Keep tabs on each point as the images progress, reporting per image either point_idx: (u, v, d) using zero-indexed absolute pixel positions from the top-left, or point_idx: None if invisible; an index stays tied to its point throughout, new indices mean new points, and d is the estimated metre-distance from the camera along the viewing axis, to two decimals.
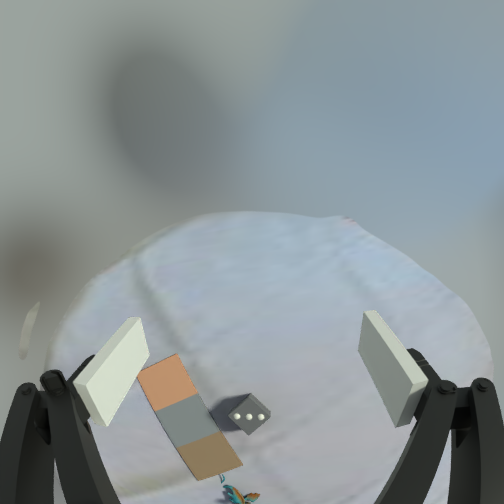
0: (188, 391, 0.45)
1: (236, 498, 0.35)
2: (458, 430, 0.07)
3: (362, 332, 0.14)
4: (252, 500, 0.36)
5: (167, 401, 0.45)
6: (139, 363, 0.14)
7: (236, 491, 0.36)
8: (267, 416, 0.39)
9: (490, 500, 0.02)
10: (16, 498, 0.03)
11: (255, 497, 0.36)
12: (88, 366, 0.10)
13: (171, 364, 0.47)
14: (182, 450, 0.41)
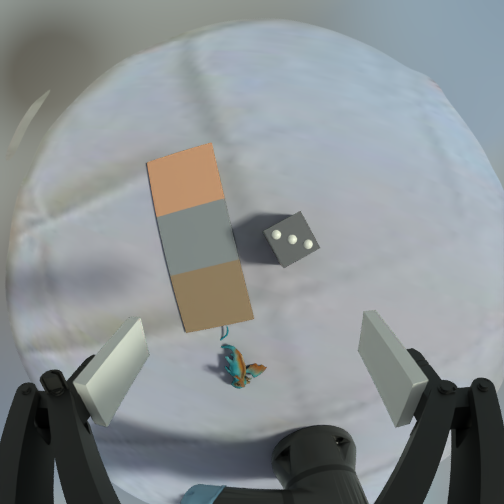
0: (212, 194, 0.37)
1: (236, 367, 0.36)
2: (458, 430, 0.07)
3: (362, 332, 0.14)
4: (254, 374, 0.37)
5: (178, 204, 0.37)
6: (139, 363, 0.14)
7: (239, 356, 0.36)
8: (316, 245, 0.32)
9: (490, 500, 0.02)
10: (16, 498, 0.03)
11: (259, 371, 0.37)
12: (88, 366, 0.10)
13: (200, 154, 0.37)
14: (178, 281, 0.38)
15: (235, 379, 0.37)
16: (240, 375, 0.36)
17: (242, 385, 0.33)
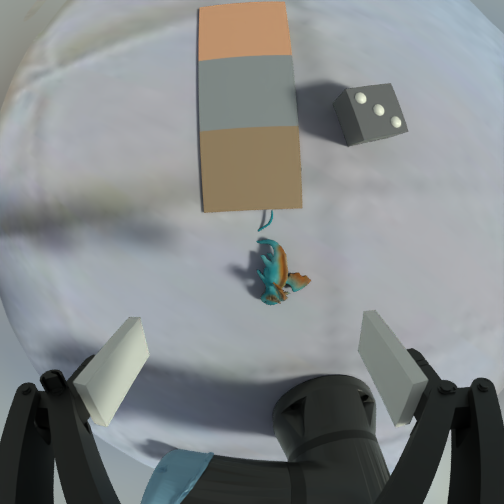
0: (277, 47, 0.23)
1: (275, 271, 0.27)
2: (458, 430, 0.07)
3: (362, 332, 0.14)
4: (295, 288, 0.29)
5: (231, 50, 0.23)
6: (139, 363, 0.14)
7: (282, 255, 0.27)
8: (404, 127, 0.21)
9: (490, 500, 0.02)
10: (16, 498, 0.03)
11: (302, 283, 0.29)
12: (88, 366, 0.10)
13: (269, 9, 0.22)
14: (208, 140, 0.26)
15: (269, 290, 0.28)
16: (277, 285, 0.28)
17: (284, 297, 0.25)
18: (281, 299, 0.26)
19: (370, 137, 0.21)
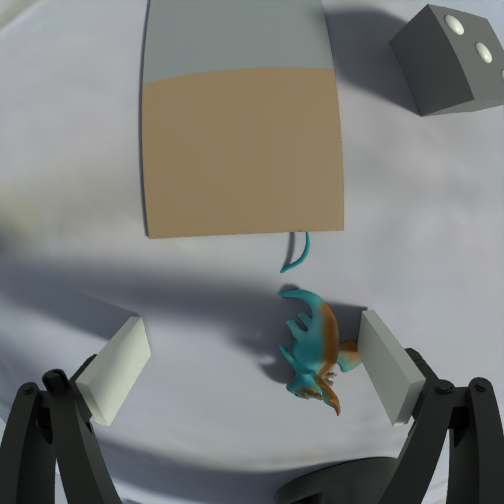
0: None
1: (317, 352, 0.13)
2: (456, 430, 0.07)
3: (360, 332, 0.14)
4: (347, 367, 0.15)
5: None
6: (141, 363, 0.14)
7: (330, 322, 0.13)
8: None
9: (489, 500, 0.02)
10: (17, 498, 0.03)
11: (359, 358, 0.15)
12: (90, 365, 0.10)
13: None
14: (157, 97, 0.12)
15: (302, 379, 0.14)
16: (318, 371, 0.14)
17: (339, 409, 0.11)
18: (329, 403, 0.12)
19: (482, 96, 0.07)
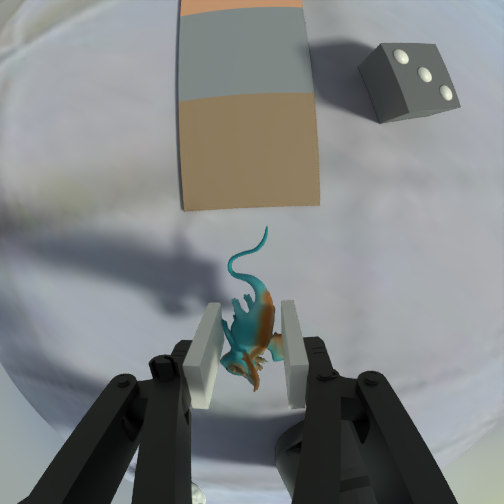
0: None
1: (251, 333, 0.15)
2: (358, 425, 0.09)
3: None
4: (278, 357, 0.17)
5: (222, 2, 0.15)
6: (220, 346, 0.16)
7: (268, 309, 0.15)
8: (456, 101, 0.12)
9: (423, 492, 0.04)
10: (67, 495, 0.04)
11: None
12: (192, 349, 0.12)
13: None
14: (190, 112, 0.18)
15: (235, 355, 0.17)
16: (250, 351, 0.16)
17: (256, 387, 0.13)
18: (251, 382, 0.14)
19: (417, 109, 0.13)
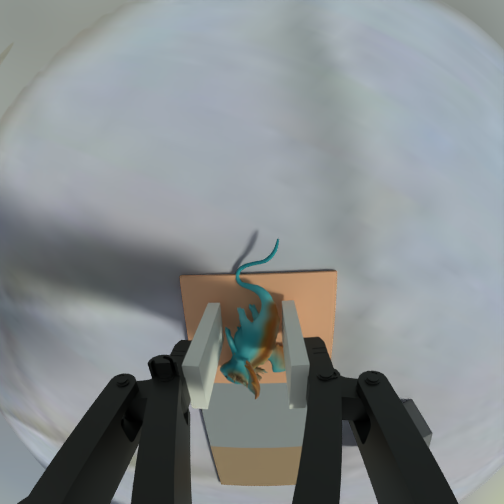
0: None
1: (254, 342, 0.15)
2: (359, 426, 0.09)
3: (282, 320, 0.17)
4: (278, 368, 0.17)
5: None
6: (220, 346, 0.16)
7: (273, 320, 0.16)
8: None
9: (423, 492, 0.04)
10: (67, 495, 0.04)
11: None
12: (191, 349, 0.12)
13: (306, 293, 0.17)
14: (221, 452, 0.21)
15: (235, 364, 0.16)
16: (251, 360, 0.16)
17: (258, 395, 0.13)
18: (251, 390, 0.14)
19: None
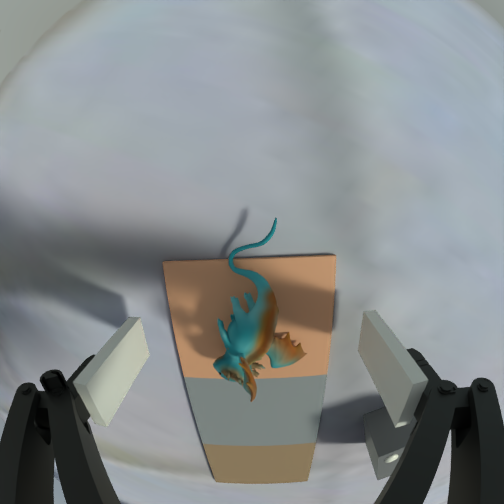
0: (307, 365, 0.17)
1: (250, 336, 0.14)
2: (458, 430, 0.07)
3: (362, 332, 0.14)
4: (277, 364, 0.16)
5: None
6: (139, 363, 0.14)
7: (271, 310, 0.14)
8: None
9: (490, 500, 0.02)
10: (16, 498, 0.03)
11: (291, 359, 0.16)
12: (88, 366, 0.10)
13: (302, 280, 0.16)
14: (214, 450, 0.20)
15: (230, 359, 0.15)
16: (247, 356, 0.15)
17: (254, 396, 0.11)
18: (247, 390, 0.13)
19: None
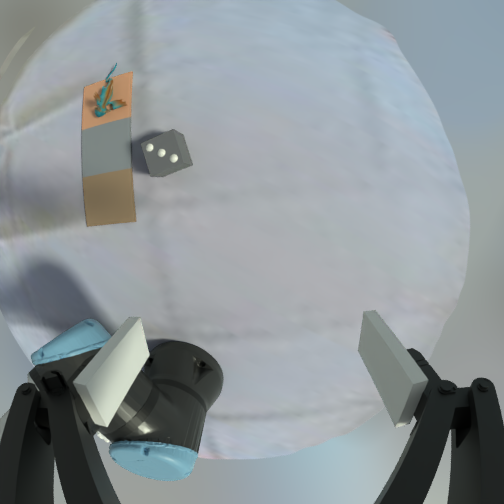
0: (122, 113, 0.36)
1: (103, 92, 0.33)
2: (458, 430, 0.07)
3: (362, 332, 0.14)
4: (114, 106, 0.35)
5: (97, 120, 0.36)
6: (139, 363, 0.14)
7: (110, 84, 0.33)
8: (181, 160, 0.34)
9: (490, 500, 0.02)
10: (16, 498, 0.03)
11: (119, 104, 0.35)
12: (88, 366, 0.10)
13: (121, 81, 0.35)
14: (86, 182, 0.39)
15: (99, 105, 0.34)
16: (103, 101, 0.34)
17: (95, 96, 0.31)
18: (97, 102, 0.32)
19: (154, 173, 0.34)
